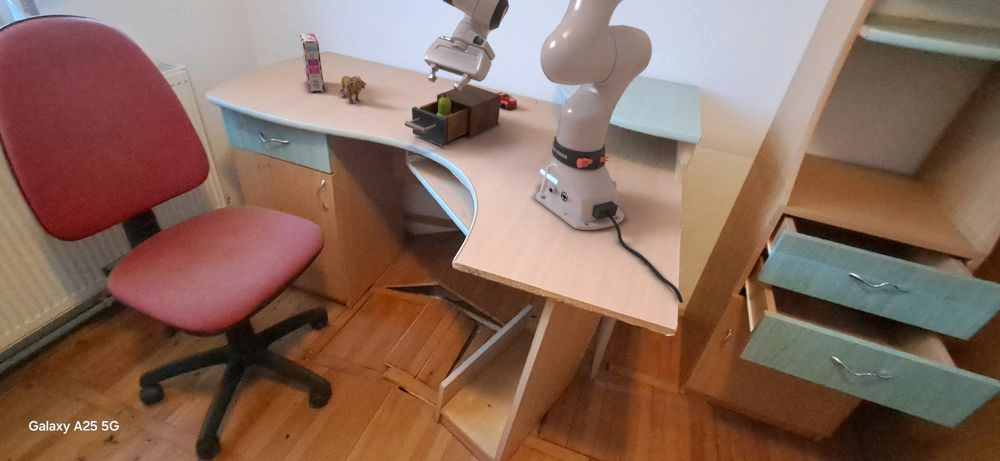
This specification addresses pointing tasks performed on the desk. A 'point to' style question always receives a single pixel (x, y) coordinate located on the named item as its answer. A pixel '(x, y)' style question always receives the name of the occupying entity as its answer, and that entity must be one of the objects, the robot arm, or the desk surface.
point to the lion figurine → (352, 87)
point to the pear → (444, 107)
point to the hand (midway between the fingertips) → (443, 85)
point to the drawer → (439, 123)
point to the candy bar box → (312, 62)
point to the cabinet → (476, 107)
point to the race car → (507, 101)
